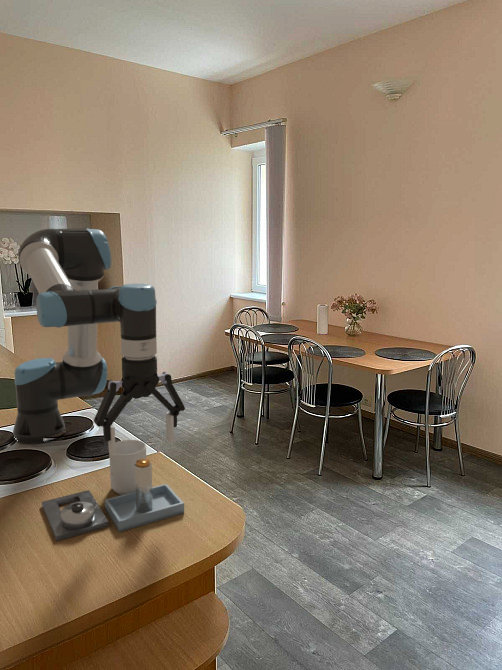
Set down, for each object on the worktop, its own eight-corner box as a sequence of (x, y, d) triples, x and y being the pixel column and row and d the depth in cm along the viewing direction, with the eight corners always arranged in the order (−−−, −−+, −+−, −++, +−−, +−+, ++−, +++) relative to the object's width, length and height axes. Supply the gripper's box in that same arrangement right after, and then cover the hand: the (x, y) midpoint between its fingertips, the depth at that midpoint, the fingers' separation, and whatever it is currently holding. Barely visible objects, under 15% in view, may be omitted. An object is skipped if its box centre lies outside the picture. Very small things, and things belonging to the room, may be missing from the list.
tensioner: (41, 506, 124) (40, 488, 123) (89, 494, 130) (88, 477, 129) (56, 541, 111) (55, 521, 110) (108, 526, 116) (107, 507, 115)
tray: (119, 532, 114) (119, 521, 114) (105, 509, 123) (104, 499, 123) (184, 512, 122) (184, 503, 122) (166, 492, 131) (166, 483, 130)
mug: (150, 493, 131) (148, 451, 128) (113, 499, 128) (111, 456, 125) (142, 472, 142) (140, 433, 139) (108, 477, 139) (106, 437, 136)
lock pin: (133, 507, 123) (132, 460, 121) (149, 502, 125) (148, 456, 123) (139, 514, 120) (137, 466, 117) (155, 510, 122) (153, 462, 119)
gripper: (85, 367, 105) (90, 466, 110) (198, 353, 118) (199, 441, 123) (76, 358, 112) (81, 452, 116) (184, 345, 124) (185, 430, 129)
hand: (141, 446), depth 120 cm, fingers open, 13 cm apart
